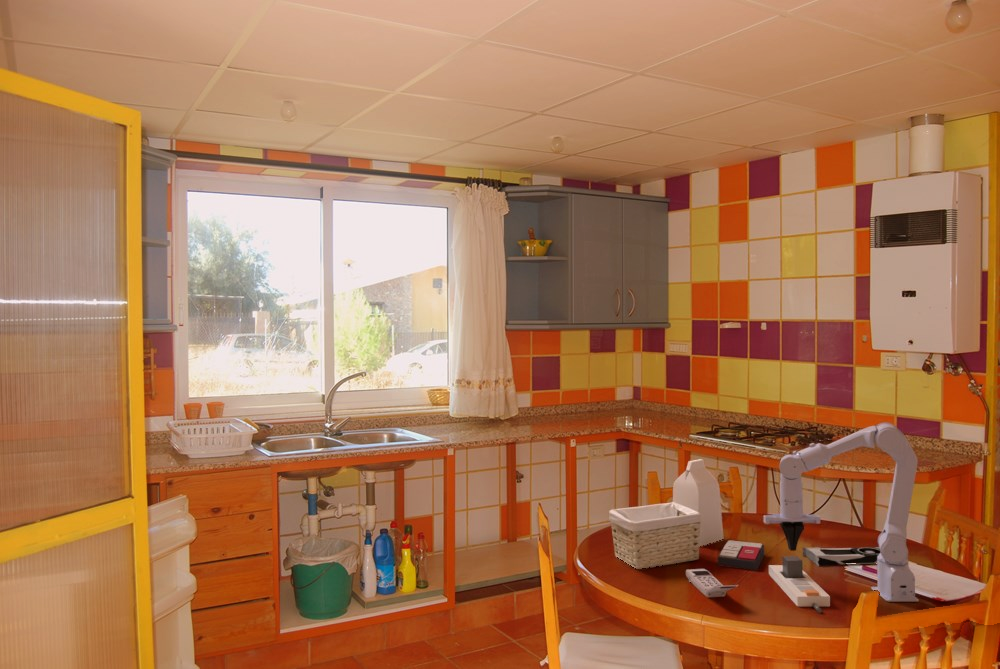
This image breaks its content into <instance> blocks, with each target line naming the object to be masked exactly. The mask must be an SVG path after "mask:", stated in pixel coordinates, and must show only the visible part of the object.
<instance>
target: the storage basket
mask: <svg viewBox="0 0 1000 669" xmlns="http://www.w3.org/2000/svg"><path fill="white" fill-rule="evenodd" d="M608 514H609V522H610V525H611V533H612V534H611V535H612V539H613V540H612V541H613V547H614V556H615V557H616V558H617V557H618V558H619V559H618V558H617V559H618V560H620V559H621V560H623V561H624V562H623V561H622V562H623V563H625V562H626V563H627V564H626V563H625V564H626V565H628V564H629V565H628V566H630V565H631V566H632V567H634V568H633V569H635V568H636V569H635V570H643V569H642V568H646V569H649V567H650V568H656V566H659V567H662V565H663V566H668V565H676V563H677V564H681V563H685V562H691V561H696V560H697V561H698V560H699V558H700V547H699V541H700V527H701V523H700V522H701V514H700V513H699V512H697V511H694V510H692V509H690V508H688V507H685V506H683V505H680V504H677V503H674V502H673V501H672V502H667V503H655V504H648V505H642V506H632V507H623V508H612V509H610V510H609V512H608ZM679 514H682V515H683V516H680V515H679ZM621 560H620V561H621ZM631 566H630V567H631ZM632 567H631V568H632Z"/></svg>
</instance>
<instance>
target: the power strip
mask: <svg viewBox="0 0 1000 669" xmlns="http://www.w3.org/2000/svg"><path fill="white" fill-rule="evenodd" d="M768 575H769V576H770V577H771V579H772V580H773V581H774V582H775V584H777V585H778V586H779V587H780V589H781V590H782V591H783V592H784V593H785V594H786V595H787V596H788V597H789V598H790V600H791V601H792V602H793V603H794V604H795V606H796V607H812V608H814V609H815V611H817V612H818V614H822V613H823V609H822V608H821V607H830V606H831V597H830V595H829V594H828V593H827V592H826V591H825V590H824V589H823V588H822V587H821V586H820V585H819V584H818V583H817V582H815V581H814V579H813V578H812V577H811V576H809V575H808V573H807V572H806V571H804V570H803V578H785V577H784V576H783V564H780V565H779V564H774V565H773V564H772V565H771V564H769V565H768Z"/></svg>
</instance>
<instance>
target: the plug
mask: <svg viewBox="0 0 1000 669" xmlns="http://www.w3.org/2000/svg"><path fill="white" fill-rule="evenodd" d="M803 564H804V563H803V560H802V559H801V558H800V557H799V556H798V555H786V556H785V555H783V556H782V565H783V576H784V577H785V578H803V571H804V569H803V567H804V566H803Z"/></svg>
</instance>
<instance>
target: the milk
mask: <svg viewBox="0 0 1000 669" xmlns="http://www.w3.org/2000/svg"><path fill="white" fill-rule="evenodd" d="M720 489H721V488H720V484H719V481H718V480H717V478H715V476H714V475H713V474H712V473H711V472H710V471H709V470H708V469H707V467H706V465H705V460H704V459H702V458H699V459H695V460H688V462H687V466H686V469H685V471H684V472H683V473H681V474H680V475H679V476H678V477H677V478H676V479H675V481H674V482H673V487H672V502H674V503H677V504H680V505H683V506H685V507H688V508H690V509H692V510H694V511H697V512H699V513H700V514H701V522H700V523H701V527H700V541H699V548H700V546H701V547H704V546H707V544H708V545H710V544H709V543H711V544H714V543H717V542H716V541H718V542H720V541H719V540H721V541H723V540H722V539H724V528H723V517H722V515H723V514H722V503H721V491H720ZM679 515H680V516H683V515H682V514H679ZM713 542H714V543H713ZM703 545H704V546H703Z"/></svg>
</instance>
